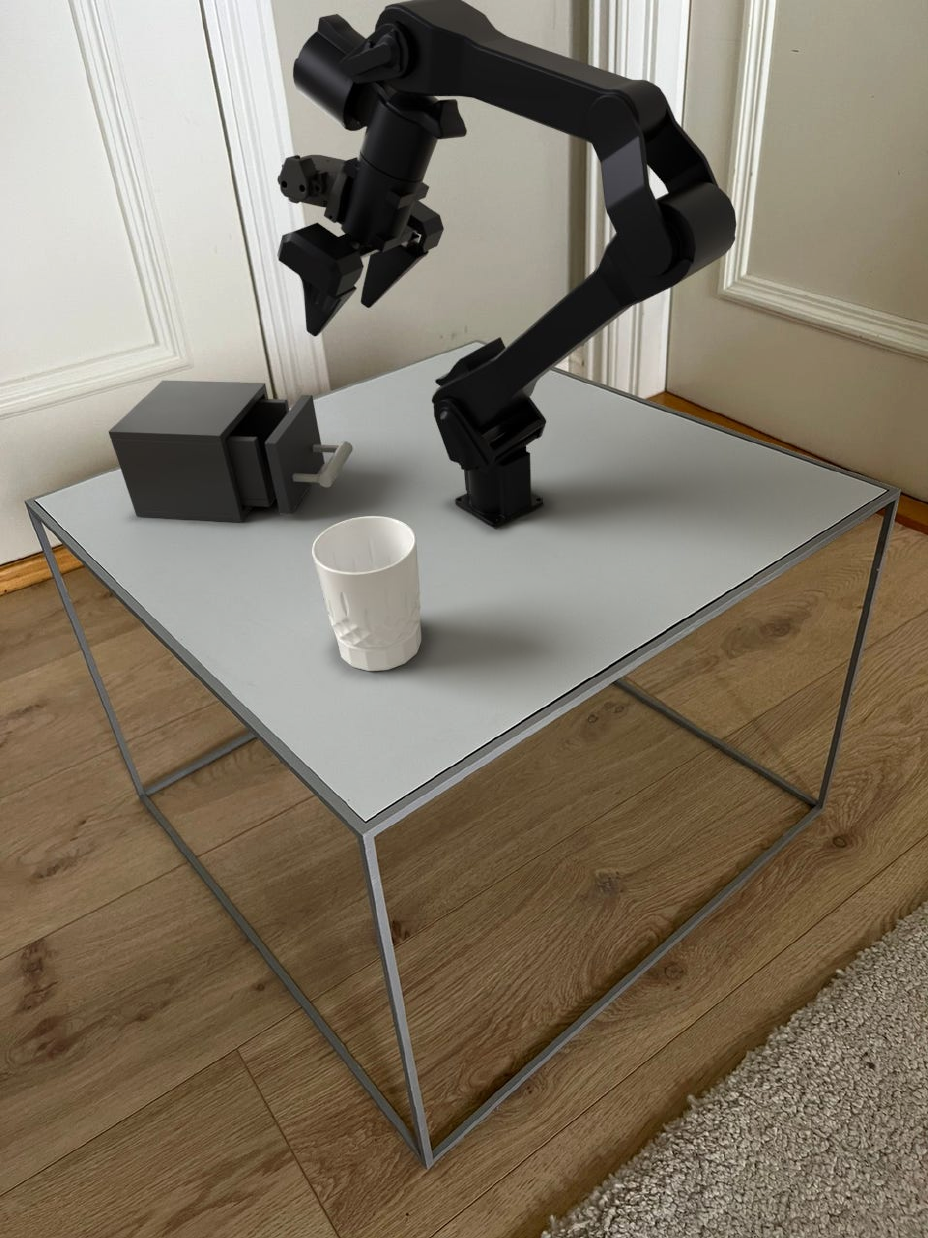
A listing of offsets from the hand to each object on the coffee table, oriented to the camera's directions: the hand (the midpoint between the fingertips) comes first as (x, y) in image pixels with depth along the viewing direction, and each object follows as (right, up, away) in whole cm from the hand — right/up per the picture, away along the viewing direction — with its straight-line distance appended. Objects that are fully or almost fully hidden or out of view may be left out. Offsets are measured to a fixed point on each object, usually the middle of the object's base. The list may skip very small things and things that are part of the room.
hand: (339, 318), depth 90 cm
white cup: (+5, -31, -12) cm, 34 cm away
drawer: (-7, -15, +8) cm, 18 cm away
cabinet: (-15, -15, +10) cm, 23 cm away
